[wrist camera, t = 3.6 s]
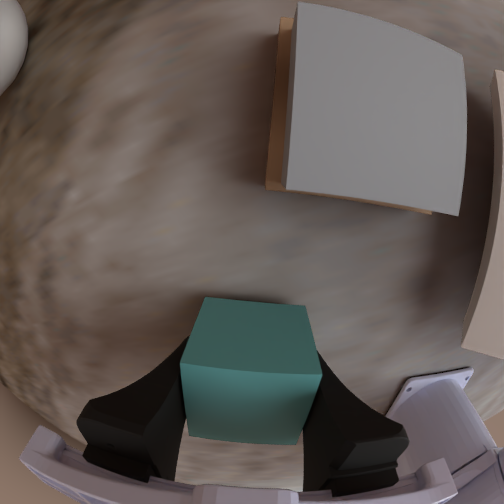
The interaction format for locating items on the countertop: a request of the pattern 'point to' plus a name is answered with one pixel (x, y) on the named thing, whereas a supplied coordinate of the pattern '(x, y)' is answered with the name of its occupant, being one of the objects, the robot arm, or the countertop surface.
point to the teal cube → (249, 372)
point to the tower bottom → (280, 123)
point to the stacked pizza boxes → (491, 253)
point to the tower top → (373, 112)
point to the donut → (11, 41)
